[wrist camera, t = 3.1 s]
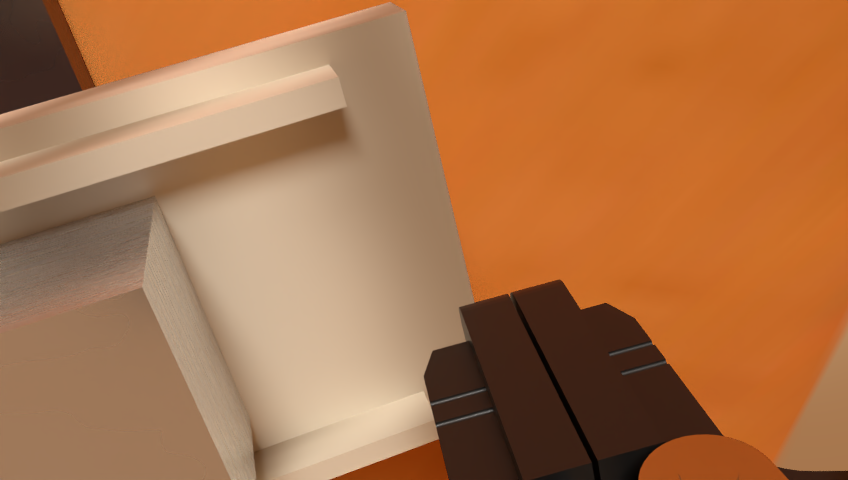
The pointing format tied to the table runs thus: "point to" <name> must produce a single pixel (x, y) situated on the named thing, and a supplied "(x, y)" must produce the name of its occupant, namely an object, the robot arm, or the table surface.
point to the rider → (112, 359)
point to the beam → (279, 223)
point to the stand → (37, 55)
